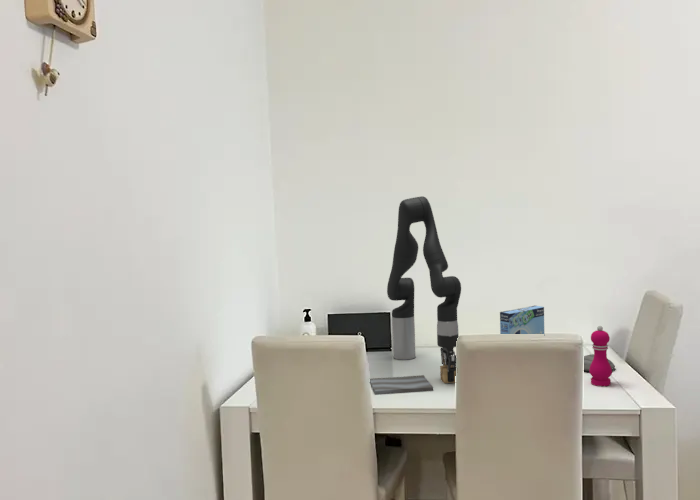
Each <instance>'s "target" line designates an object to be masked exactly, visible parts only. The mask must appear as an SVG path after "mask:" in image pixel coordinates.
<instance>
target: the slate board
mask: <svg viewBox="0 0 700 500" xmlns="http://www.w3.org/2000/svg"><path fill="white" fill-rule="evenodd" d="M369 379H370V382H369V384H370V386H371V388H372V391H373V394H374V395H386V394H387V395H388V394H390V395H391V394H402V393H403V394H404V393H418V392H419V393H420V392H431V391H432V392H433V391H434V387H433V385H432V384H431V383H430V381H429V380H428V379H427V378H426V376H425V375H424V374H423V375H420V374H419V375H407V376H391V377H375V378H374V377H373V378H369Z"/></svg>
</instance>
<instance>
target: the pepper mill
mask: <svg viewBox="0 0 700 500" xmlns="http://www.w3.org/2000/svg"><path fill="white" fill-rule="evenodd" d="M603 329H604V328H603V326H601V325H599V326H597V329H596V330H595V331H593V332H592V333H591V335H590V340H591V342H592V343H593V344H591V345H592V349H593V354H594V358H593V361H592V363H591V365H590V369H589V371H588V372H589V374H590V376H592V377H591V378H590V384H591V385H593V386H596V387H609V386H611V384H612V383H611V380H612V379H611V378H610V377H611V376H612V374H613V369H611V366H610V364H609V362H608V360H607V359H608V355H607V351H608V350H609V342H610V339H611V338H610V334H609V333H608V332H607V331H605V330H603Z"/></svg>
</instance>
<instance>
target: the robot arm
mask: <svg viewBox="0 0 700 500" xmlns="http://www.w3.org/2000/svg"><path fill="white" fill-rule="evenodd" d="M397 214H398V216H397V231H396V239H395V244H394V247H393V248H394V250H393V257H392V263H391V264H392V265H391V270H390V274H389V276H388V277H389V278H388V282H387V286H386V294H387V298H388V299H389V300H391V301H395V302H396V301H397V302H398V301H404V302H403V303H402V304H401V305H399V306H397V307H395V308H393V309H392V310H391V323H392V324H391V325H392V329H391V330H392V354H393V355H392V358H393V359H396V360H400V361H401V360H402V361H403V360H413V359H415V358H416V334H415V333H416V332H415V331H416V330H415V329H416V328H415V283H414V280H413V278H412V277H403V276H404V275H405V273H407V272H408V271H409V270H410V269H411V268H412V267H413V266H414V265H415V263H416V261H417V259H418V253H419V243H418V241H417V239H416V238H415V236H414V235H413V234H412V233H411V229H410V228H411V226H412V224H415V223H421V222H423V224H424V227H425V237H424V241H423V246H422V252H423V253H422V254H423V258H424V260H425V263H426V266H427V268H428V271H429V279H430V288H431V291H432V293H433V295H434V296H435V297H437V298H440V299H442V298H445V299H444V300H443V301H442V302H441V303H439V304H438V305H437V309H436V312H437V313H436V316H437V319H436V320H437V323H436V341H437V342H436V343H437V346H438V347H440V356H441V364H442V366H445V365H447V374H448V382H454V371H456V368H457V358H456V356H457V354H456V352H455V351H454V349H455V348H456V341H457V338H458V337H459V323H458V306H459V301H460V297H461V294H462V284H461V281H460V279H459V278H458V277H456V276H454V275H450V276H444V275H443V273H444V272H445V271H447V270H448V268H449V264H448V261H447V257H446V256H445V254H444V251H443V247H442V246H441V243H440V239H439V235H438V230H437V225H436V222H435V217H434V214H433V209H432V206H431V204H430V201H429V200H428V198H427V197H425V196H415V197H411V198H410V197H409V198H406V199H403V200H401V201H400V203H399V206H398V213H397ZM459 338H460V337H459ZM451 365H452V368H451ZM454 383H455V382H454Z"/></svg>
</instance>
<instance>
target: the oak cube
mask: <svg viewBox="0 0 700 500" xmlns="http://www.w3.org/2000/svg"><path fill="white" fill-rule="evenodd" d="M439 367H440V368H439V369H440V373H439V374H440V381H441V382H442V383H443V384H448V383H449V384H451V383H453V384H454V383H456V382H455V376H456V371H454V382H448V374H447V365H445V366H443V365H440V366H439ZM451 368H452V365H451Z"/></svg>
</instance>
